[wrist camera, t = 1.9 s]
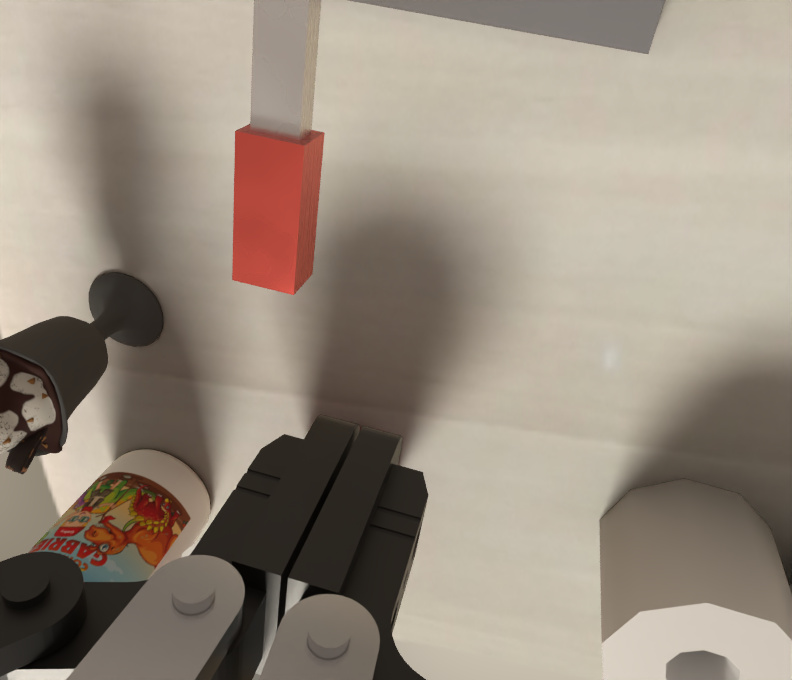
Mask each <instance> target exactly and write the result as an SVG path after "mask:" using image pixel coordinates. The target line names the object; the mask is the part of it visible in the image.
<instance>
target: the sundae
mask: <svg viewBox="0 0 792 680" xmlns="http://www.w3.org/2000/svg"><path fill="white" fill-rule="evenodd" d="M89 306H90V310H91V313H92V316H93V318H94V320H95V321H93V322H92V323H90V324H89V323H87V322H84V321H82V320H79V319H76V318H72V317H68V316H59V317H55V318H52V319H49V320H46V321H43V322H40V323H38V324H35V325H33V326H31V327H29V328H27V329H25V330H23V331H21V332H18V333H16V334H14V335H12V336H10V337H7V338H5V339H2V340H0V454H1V453H4V452H5V451H8V452H10V453H9V456H8V459H7V462H6V466H5V467H6V468H8V469H11V470H12V471H14V472H18V473H21V474H24V473H25V472H26V471H27V469H28V467H29V465H30V463H31V462H32V460H33V458H34V456H40V455H46V454H49V453H59V452H60V451H62V446H63V445H64V444H65V442H66V438H67V433H68V423H67V420H68V418H69V417H70V415H71V414H72V413H73V411H74V410H75V408H76V407H77V406H78V405H79V404H80V402H81V401H82V400H83V399H84V398H85V397H86V395H87V394H88V393H89V392H90V391H91V390H92V389H93V387H94V386H95V385H96V384H97V382H98V381H99V379H100V378H101V376H102V375H103V373H104V372H105V370H106V367H107V364H108V354H107V348H106V344H105V341H104V340H105V339H107V338H108V337H109V336H110V337H111V338H112V339H114V340H116V341H118V342H120V343H123V344H126V345H129V346H134V347H137V346H146V345H149V344H151V343H153V342H154V341H155V340H156V339H157V338H158V337H159V335H160V333H161V331H162V328H163V315H162V311H161V308H160V306H159V304H158V301H157V299H156V298H155V296H154V295H153V294H152V292H151V291H150V290H149V289H148V288H147V287H146V286H145V285H144V284H142V283H141V282H139V281H138V280H136V279H135V278H133V277H131V276H128V275H125V274H121V273H107V274H103V275H101V276H100V277H98V278H97V279H96V280H95V281H94V282H93V283H92V285H91V288H90V291H89Z"/></svg>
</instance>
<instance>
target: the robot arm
mask: <svg viewBox="0 0 792 680" xmlns="http://www.w3.org/2000/svg"><path fill="white" fill-rule="evenodd" d="M401 446H402V436H399V435H396V434H392V433H388V432H384V431H381V430H377V429H373V428H370V427H366V426H363V427H362V428H361V430H360V426H359V425H358V424H354V423H350V422H347V421H343V420H339V419H336V418H332V417H328V416H324V415H319V416H318V417H317V419H316V420H315V422H314V423H313V425H312V427H311V428H310V430H309V432H308V434H307V435H306V437H305V439H300V438H296V437H293V436H289V435H285V434H284V435H282V436H281V437H279V438H278V439H276V440H274V441H273V442H271V443H270V444H268V445H267V446H265V447H263V448H262V449H261V450H260V452H259V453H258V455H257V456H256V458H255V459H254V461H253V462H252V464H251V465H250V467H249V468H248V471H247V473H245V474H244V476H243V477H242V479H241V480H240V482H239V483H238V484H237V487H236V490H233V492H232V493H231V495H230V496H229V498H228V499H227V501H226V502H225V504H224V505H223V507H222V508H221V510H220V511H219V513H218V514H217V516H216V517H215V519H214V520H213V522H212V523H211V525H210V526H209V528H208V529H207V531H206V532H205V534H204V535H203V537H202V538H201V540H200V541H199V543H198V544H197V545H196V547H195V548H194V550H193V551H192V553H191V554H190V555H189V556H185V557H182V558H178V559H176V560H173V561H171V562H169V563H167V564H165V565H164V566H162V567H161V568H159V569H158V570H157V571H156V572H155V573H154V574H153V575H152V576H151V577H150V578H149V579H148V580H143V581H137V582H84V579H83V575H82V571H81V569H80V568H79V566H78V565H77V564H76V563H75V562H74V561H73V560H72V559H70V558H68V557H67V556H64V555H62V554H59V553H54V552H31V553H26V554H22V555H19V556H16V557H13V558H10V559H7V560H4V561H2V562H0V680H252V679H253V677H254V675H255V673H257V674H259V675H260V678H259V680H426V679H424V678H423V677H422V676H420V675H419V674H418V673H416V672H415V671H414V670H412V668H411V667H410V666H409V665H408V664H407V663H406V662H405V661H404V659H403V658H402V656H401V655H400V654H399V652H398V650H397V648H396V646H395V643H394V640H393V637H392V632H393V628H394V625H395V622H396V618H397V615H398V611H399V608H400V605H401V601H402V598H403V594H404V591H405V588H406V584H407V580H408V577H409V574H410V571H411V567H412V564H413V560H414V557H415V553H416V548H417V544H418V539H419V535H420V530H421V526H422V521H423V517H424V512H425V508H426V503H427V499H428V492H427V488H426V484H425V480H424V476H423V472H420V471H417V470H413V469H409V468H406V467H402V466H399V465H398V462H399V457H400V451H401Z"/></svg>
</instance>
